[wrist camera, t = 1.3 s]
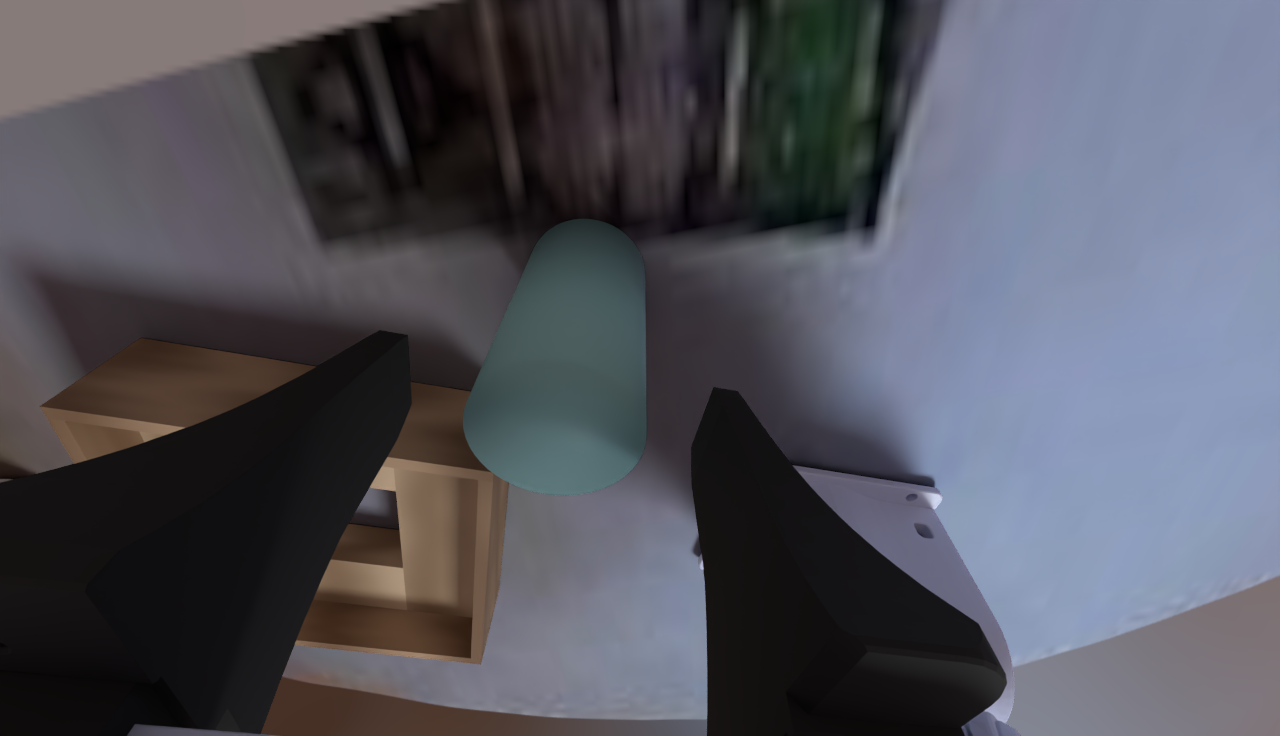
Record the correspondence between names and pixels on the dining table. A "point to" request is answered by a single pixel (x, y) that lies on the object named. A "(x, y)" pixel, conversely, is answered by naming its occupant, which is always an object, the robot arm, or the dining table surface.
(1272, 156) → the dining table surface
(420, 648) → the box
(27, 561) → the robot arm
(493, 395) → the peg
